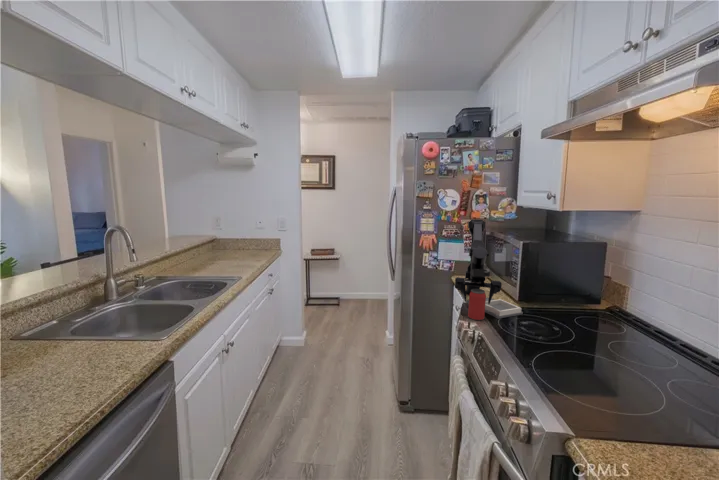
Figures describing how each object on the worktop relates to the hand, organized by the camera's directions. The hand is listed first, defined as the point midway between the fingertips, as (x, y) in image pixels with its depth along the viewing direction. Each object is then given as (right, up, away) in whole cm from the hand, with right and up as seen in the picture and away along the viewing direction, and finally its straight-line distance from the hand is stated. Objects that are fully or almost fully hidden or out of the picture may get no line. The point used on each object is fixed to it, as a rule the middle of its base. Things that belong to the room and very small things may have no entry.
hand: (477, 302), depth 134 cm
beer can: (0, -7, +2) cm, 7 cm away
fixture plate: (+12, -5, +13) cm, 18 cm away
